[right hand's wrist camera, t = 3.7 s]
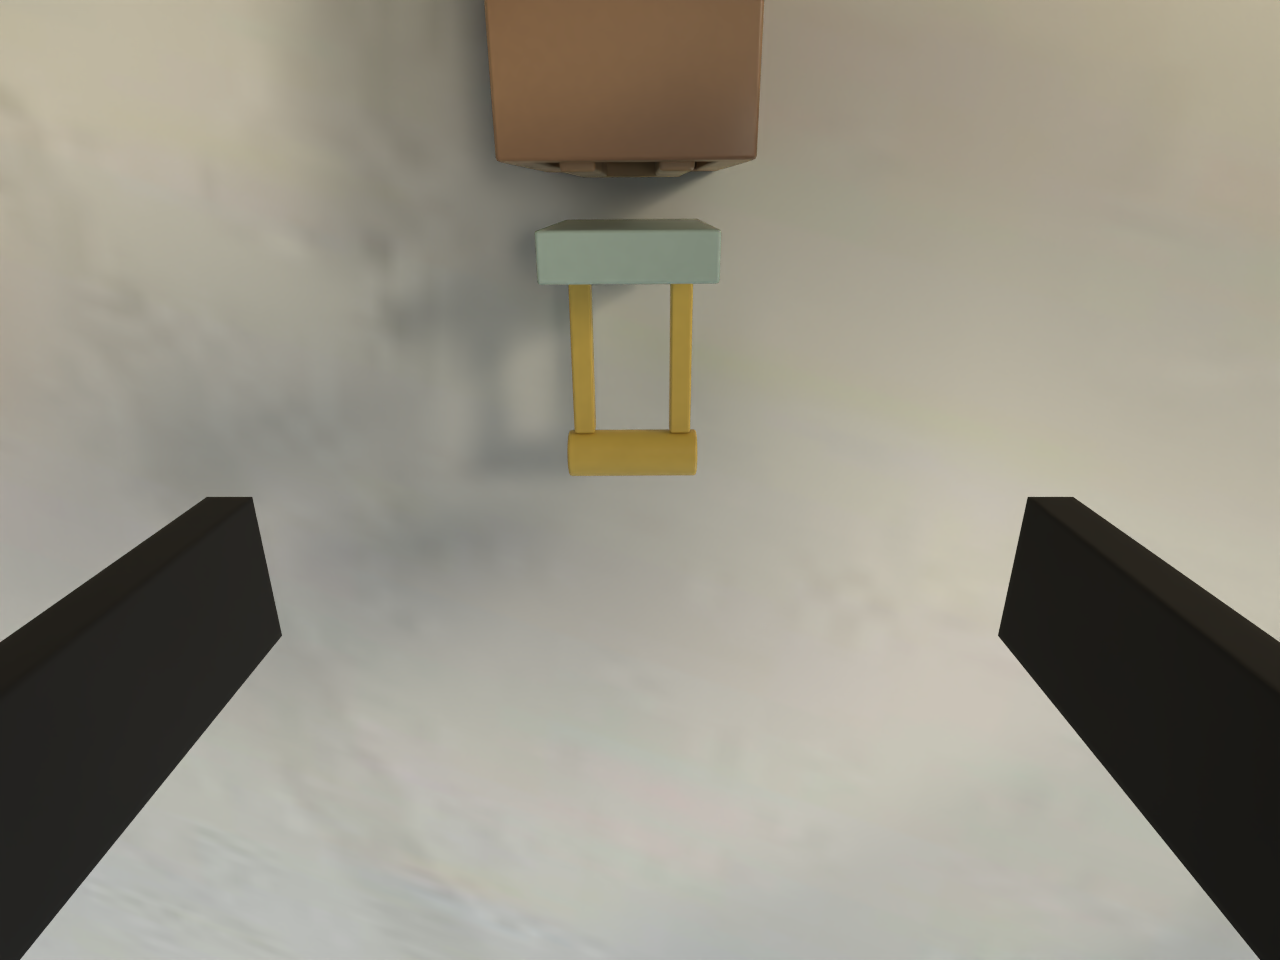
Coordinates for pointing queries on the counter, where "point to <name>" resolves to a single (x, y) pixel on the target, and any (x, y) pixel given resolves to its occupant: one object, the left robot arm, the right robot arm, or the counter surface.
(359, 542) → the counter surface
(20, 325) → the counter surface
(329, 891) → the counter surface
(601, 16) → the cabinet
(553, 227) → the drawer
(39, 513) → the counter surface
